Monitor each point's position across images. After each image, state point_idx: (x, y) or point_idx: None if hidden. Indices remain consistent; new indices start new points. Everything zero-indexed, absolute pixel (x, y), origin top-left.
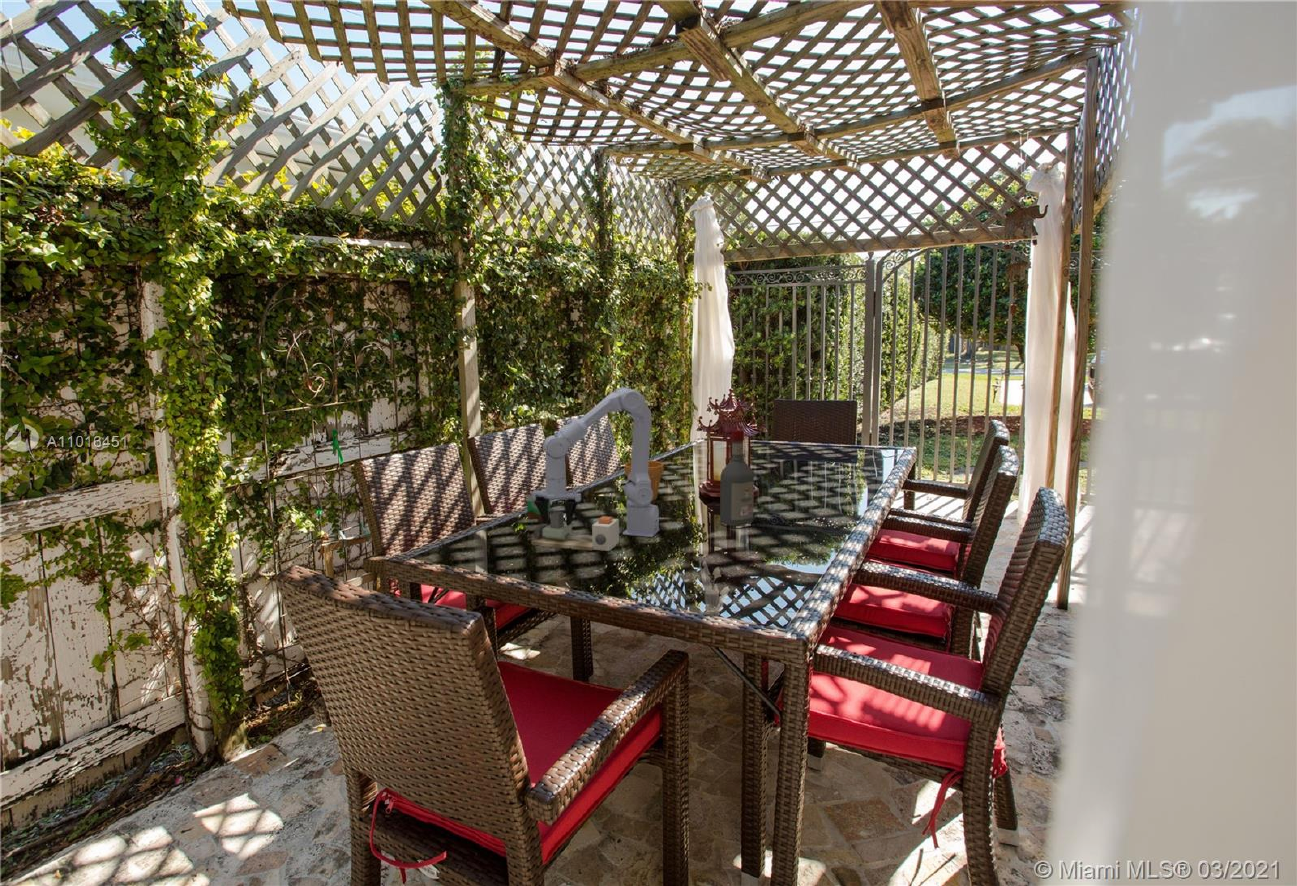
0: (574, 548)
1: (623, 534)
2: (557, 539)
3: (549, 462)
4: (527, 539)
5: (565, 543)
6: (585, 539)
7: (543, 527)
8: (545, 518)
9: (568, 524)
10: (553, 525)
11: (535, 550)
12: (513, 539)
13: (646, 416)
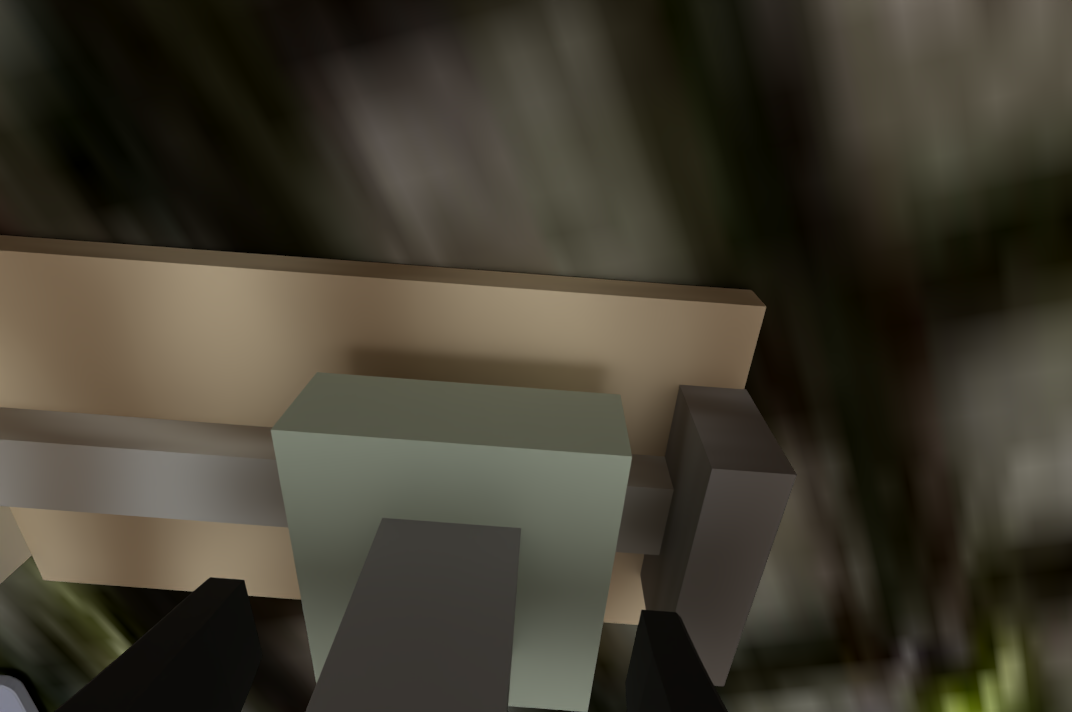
0: (152, 248)
1: (5, 676)
2: None
3: None
4: (843, 461)
5: (285, 317)
6: (75, 430)
7: (676, 587)
8: (650, 709)
9: (196, 590)
10: (465, 558)
11: (625, 75)
12: (1015, 436)
13: None
